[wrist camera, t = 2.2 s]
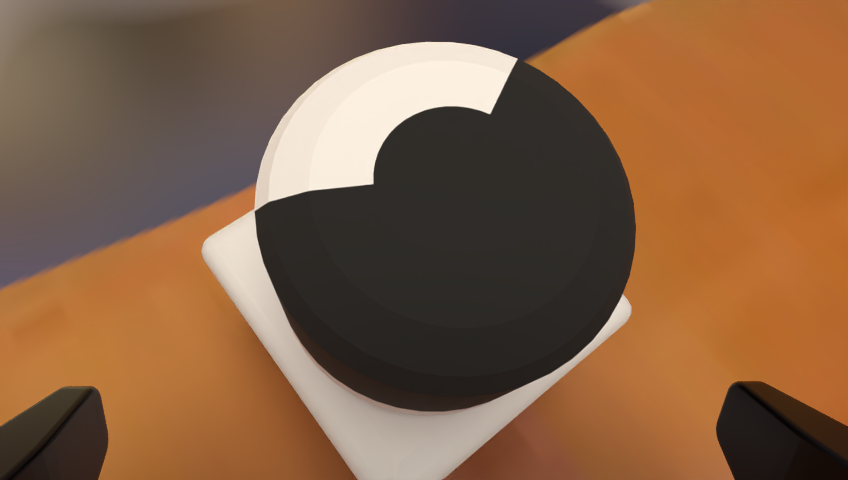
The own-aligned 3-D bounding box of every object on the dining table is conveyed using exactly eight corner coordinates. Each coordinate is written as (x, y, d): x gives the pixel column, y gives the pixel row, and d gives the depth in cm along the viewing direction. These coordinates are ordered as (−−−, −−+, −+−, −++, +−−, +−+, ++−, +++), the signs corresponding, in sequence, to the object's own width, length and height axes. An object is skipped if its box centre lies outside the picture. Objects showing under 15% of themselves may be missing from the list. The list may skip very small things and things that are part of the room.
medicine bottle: (548, 360, 20) (786, 233, 9) (376, 504, 18) (415, 565, 7) (418, 199, 22) (487, -77, 11) (244, 316, 20) (107, 123, 9)
